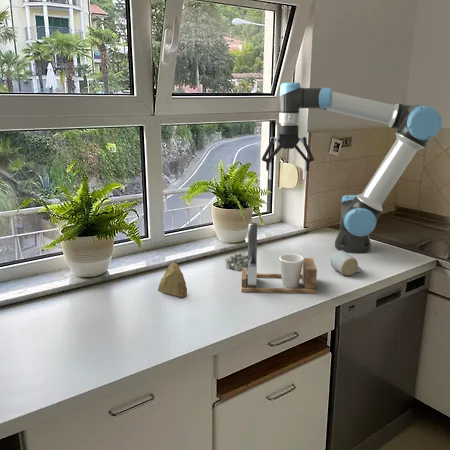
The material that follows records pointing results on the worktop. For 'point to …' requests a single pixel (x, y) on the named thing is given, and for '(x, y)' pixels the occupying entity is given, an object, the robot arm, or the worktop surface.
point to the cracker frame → (307, 277)
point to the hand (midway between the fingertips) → (287, 179)
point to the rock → (173, 281)
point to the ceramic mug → (344, 263)
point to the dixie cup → (291, 269)
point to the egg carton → (241, 261)
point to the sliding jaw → (252, 255)
